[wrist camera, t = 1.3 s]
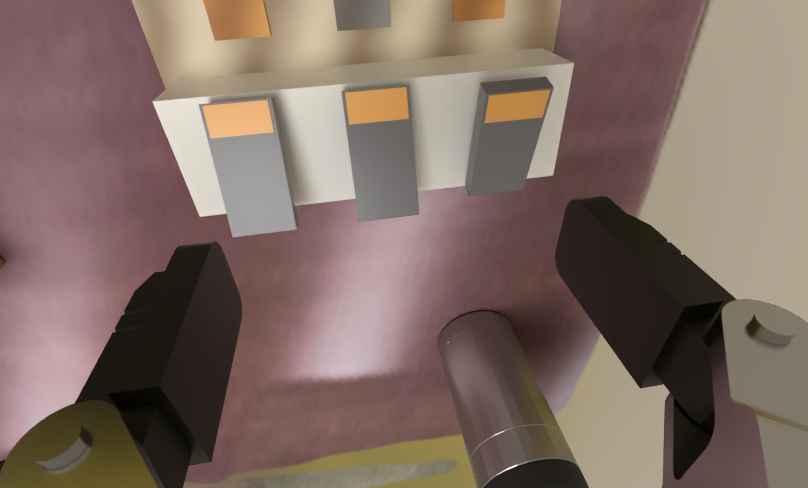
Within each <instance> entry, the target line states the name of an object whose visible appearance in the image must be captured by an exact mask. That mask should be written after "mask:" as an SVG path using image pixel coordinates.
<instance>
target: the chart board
mask: <svg viewBox="0 0 808 488" xmlns="http://www.w3.org/2000/svg"><path fill="white" fill-rule="evenodd" d="M561 2H562V0H132V3H133V5H134V8H135V10H136V13H137V16H138V18H139V21H140V23H141V26H142V29H143V31H144V34H145V36H146V39H147V41H148V44H149V47H150V49H151V52H152V54H153V57H154V60H155V62H156V65H157V67H158V70H159V73H160V75H161V78H162V80H163V83H164V86H165V88H166V89H167V88H169V87H170V86H171V85H172V84H173V83H174V82H176V81H177V80H178V79H189V78H201V77H213V76H224V75H236V74H247V73H259V72H270V71H282V70H293V69H305V68H316V67H328V66H340V65H351V64H363V63H374V62H386V61H397V60H409V59H420V58H432V57H444V56H455V55H467V54H478V53H490V52H501V51H513V50H524V49H536V48H543V49H545V50H547V51H549V52H551V53H554V47H555V40H556V34H557V28H558V21H559V15H560V9H561Z"/></svg>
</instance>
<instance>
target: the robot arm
mask: <svg viewBox="0 0 808 488" xmlns="http://www.w3.org/2000/svg"><path fill="white" fill-rule="evenodd" d="M555 260H556V266H557V270H558V272H559V275H560V276H561V278H562V279H563V281H564V282H565V283H566V285H567V286H568V288H569V289H570V290H571V292H572V293H573V295H574V296H575V297H576V299H577V300H578V302H579V303H580V305H581V306H582V307H583V309H584V310H585V312H586V313H587V314H588V316H589V317H590V319H591V320H592V321H593V323H594V324H595V326H596V327H597V328H598V330H599V331H600V333H601V334H602V335H603V337H604V338H605V340H606V341H607V342H608V344H609V345H610V347H611V348H612V349H613V351H614V352H615V354H616V355H617V356H618V358H619V359H620V361H621V362H622V364H623V365H624V366H625V368H626V369H627V371H628V372H629V373H630V375H631V376H632V377H633V379H634V380H635V382H636V383H637V385H638V386H639V387H640V388H645V387H650V386H657V385H662V384H664V385H665V386H666V388H667V389H668V390H669V391H670V393H669V395H668V396H667V398H666V400H665V418H664V455H663V485H662V488H808V323H807V322H806V321H804V320H803V319H801V318H800V317H799V316H797V315H795V314H793V313H792V312H790V311H788V310H785V309H783V308H781V307H778V306H776V305H773V304H770V303H766V302H762V301H757V300H749V299H741V300H737V299H735V298H734V297H733V296H732V295H731V294H730V293H728V292H727V291H726V290H725V289H724V288H723V287H721V286H720V285H719V284H718V283H717V282H716V281H714V280H713V279H712V278H711V277H710V276H709V275H708V274H706V273H705V272H704V271H703V270H702V269H701V268H699V267H698V266H697V265H696V264H695V263H694V262H693V261H691V260H690V259H689V258H688V257H687V256H686V255H681V251H680V250H679V249H678V248H676V247H675V246H674V245H673V244H672V243H668V242H667V239H666V238H664V236H662V235H661V234H660V233H659V232H658V231H657V230H655V229H654V228H653V227H652V226H651V225H649V224H647V223H645V222H643V221H641V220H639V219H637V218H635V217H633V216H631V215H629V214H626V213H625V212H624V211H623V210H622V209H621V208H620V207H618V206H617V205H616V204H615V203H614V202H613V201H612V200H611V199H609V198H608V197H606V196H600V197H592V198H584V199H575V200H572V201H570V202H569V204H568V205H567V208H566V211H565V215H564V219H563V223H562V228H561V232H560V236H559V240H558V244H557V248H556V253H555ZM124 312H125V315H122V316H121V318H120V320H119V322H118V324H117V325H116V327H115V330H116V331H115V333H112V335H111V337H110V339H109V340H108V342H107V344H106V346H105V348H104V350H103V352H102V354H101V355H100V357H99V359H98V361H97V363H96V365H95V367H94V368H93V370H92V372H91V374H90V376H89V378H88V380H87V382H86V383H85V385H84V387H83V389H82V391H81V393H80V395H79V397H78V398H77V400H76V402H75V404H72V405H69V406H67V407H64V408H62V409H60V410H58V411H56V412H54V413H52V414H51V415H49V416H47V417H46V418H44V419H43V420H41V421H40V422H39V423H37V424H36V425H35V426H34V427H32V428H31V429H30V430H29V431H28V432H27V433H26V434H25V435H24V436H23V437H22V438H21V439H20V440H19V441H18V442H17V443H16V445H15V446H14V447H13V449H12V450H11V451H10V453H9V454H8V456H7V458H6V459H5V460H3V461H0V488H183V485H184V481H185V477H186V473H187V469H188V466H190V465H195V464H201V463H207V462H211V461H212V456H213V451H214V446H215V442H216V437H217V432H218V428H219V423H220V418H221V414H222V409H223V404H224V399H225V395H226V390H227V385H228V381H229V376H230V371H231V367H232V362H233V357H234V352H235V348H236V343H237V338H238V334H239V329H240V324H241V319H242V304H241V298H240V294H239V291H238V289H237V286H236V283H235V281H234V278H233V276H232V273H231V271H230V268H229V265H228V263H227V260H226V258H225V255H224V253H223V250H222V248H221V246H220V245H219V243H217V242H208V243H199V244H191V245H182V246H178V247H177V248H176V249H175V251H174V253H173V255H172V257H171V259H170V262H169V264H168V266H167V268H166V270H165V271H163V272H155V273H154V274H153V275H151V276H150V277H149V278H148V279H147V280H146V281H145V282H144V283H143V284H142V285H141V286H140V287H139V288H138V289H137V290H135V292H134V294H133V296H132V297H131V299H130V301H129V303H128V305H127V307H126V309H125V311H124ZM438 347H439V351H440V355H441V359H442V362H443V366H444V370H445V373H446V377H447V381H448V385H449V388H450V392H451V395H452V399H453V403H454V406H455V410H456V413H457V417H458V421H459V424H460V428H461V431H462V435H463V439H464V442H465V446H466V449H467V453H468V457H469V460H470V464H471V466H472V470H473V474H474V478H475V481H476V485H477V488H589V487H588V485H587V483H586V480H585V478H584V476H583V474H582V472H581V470H580V469H579V467H578V464H577V462H576V460H575V459H574V456H573V454H572V452H571V450H570V448H569V446H568V444H567V442H566V440H565V438H564V436H563V434H562V432H561V430H560V428H559V425H558V423H557V421H556V419H555V417H554V415H553V413H552V411H551V409H550V407H549V405H548V403H547V400H546V398H545V396H544V394H543V392H542V390H541V388H540V386H539V384H538V382H537V380H536V378H535V375H534V373H533V371H532V369H531V367H530V365H529V363H528V361H527V359H526V357H525V355H524V353H523V350H522V348H521V346H520V344H519V342H518V340H517V338H516V336H515V334H514V332H513V329H512V327H511V325H510V323H509V322H508V320H507V319H506V318H505V317H504V316H502V315H500V314H498V313H494V312H490V311H480V312H473V313H469V314H466V315H463V316H461V317H459V318H457V319H455V320H454V321H452V322H451V323H450V324H449V325H447V326H446V327H445V329H444V330H443V331H442V333H441V335H440V337H439V340H438Z"/></svg>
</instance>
